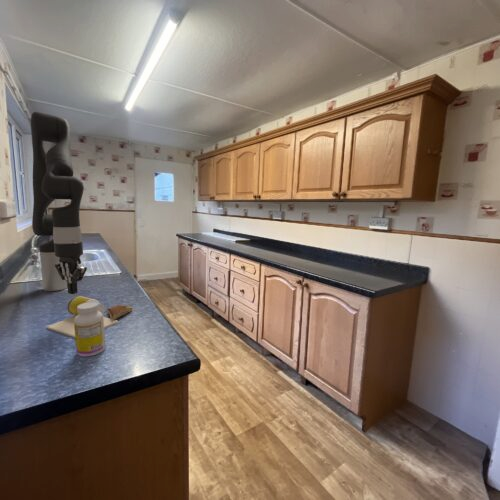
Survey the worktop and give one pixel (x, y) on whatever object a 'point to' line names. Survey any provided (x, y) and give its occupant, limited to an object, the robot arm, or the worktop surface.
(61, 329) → the mat
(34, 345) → the worktop surface
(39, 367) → the worktop surface
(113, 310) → the shard
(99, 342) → the supplement bottle
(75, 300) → the pill bottle
